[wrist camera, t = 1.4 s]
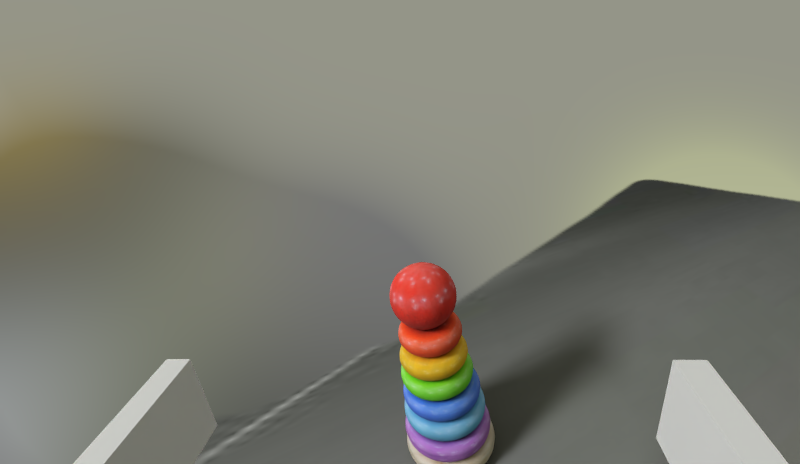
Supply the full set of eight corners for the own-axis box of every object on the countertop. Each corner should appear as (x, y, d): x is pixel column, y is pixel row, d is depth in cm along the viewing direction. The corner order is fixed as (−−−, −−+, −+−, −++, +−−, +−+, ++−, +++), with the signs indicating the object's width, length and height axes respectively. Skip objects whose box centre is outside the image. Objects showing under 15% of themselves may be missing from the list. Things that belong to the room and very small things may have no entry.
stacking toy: (490, 404, 41) (474, 238, 33) (500, 484, 34) (483, 296, 26) (412, 407, 42) (378, 247, 34) (405, 484, 35) (360, 306, 27)
